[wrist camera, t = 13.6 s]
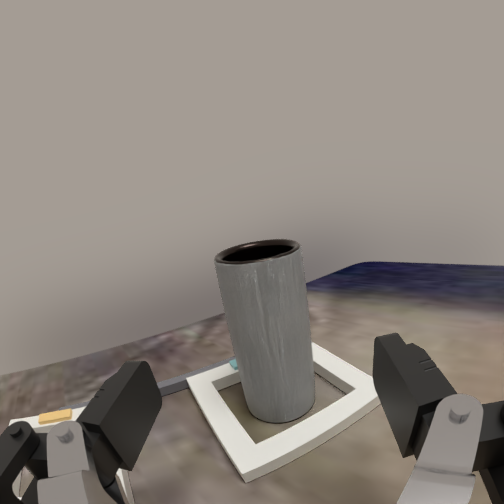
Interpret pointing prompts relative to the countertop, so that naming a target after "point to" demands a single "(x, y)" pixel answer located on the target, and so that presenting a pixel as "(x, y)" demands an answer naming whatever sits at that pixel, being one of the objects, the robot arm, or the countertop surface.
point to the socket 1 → (44, 425)
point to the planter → (269, 326)
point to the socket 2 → (295, 438)
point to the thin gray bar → (168, 383)
